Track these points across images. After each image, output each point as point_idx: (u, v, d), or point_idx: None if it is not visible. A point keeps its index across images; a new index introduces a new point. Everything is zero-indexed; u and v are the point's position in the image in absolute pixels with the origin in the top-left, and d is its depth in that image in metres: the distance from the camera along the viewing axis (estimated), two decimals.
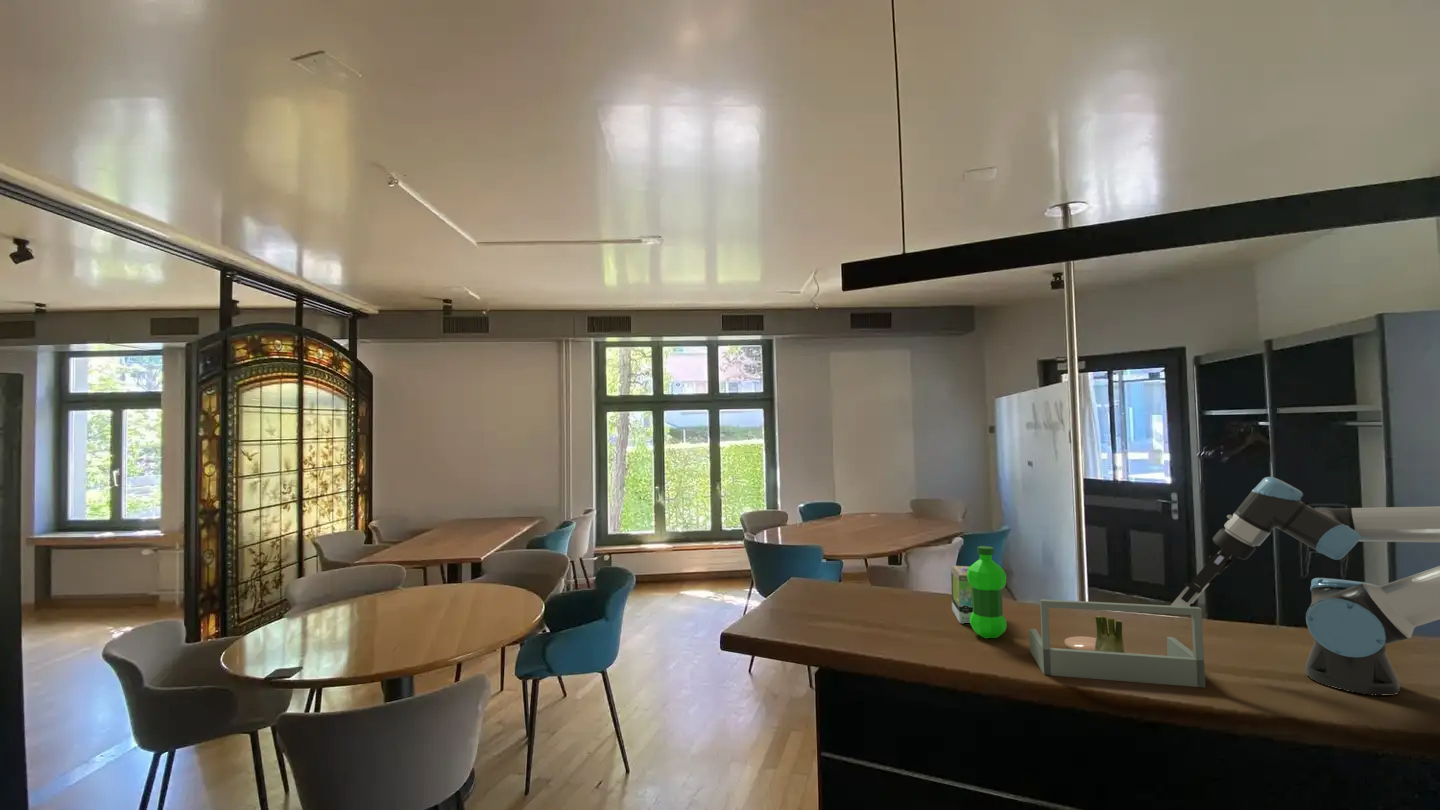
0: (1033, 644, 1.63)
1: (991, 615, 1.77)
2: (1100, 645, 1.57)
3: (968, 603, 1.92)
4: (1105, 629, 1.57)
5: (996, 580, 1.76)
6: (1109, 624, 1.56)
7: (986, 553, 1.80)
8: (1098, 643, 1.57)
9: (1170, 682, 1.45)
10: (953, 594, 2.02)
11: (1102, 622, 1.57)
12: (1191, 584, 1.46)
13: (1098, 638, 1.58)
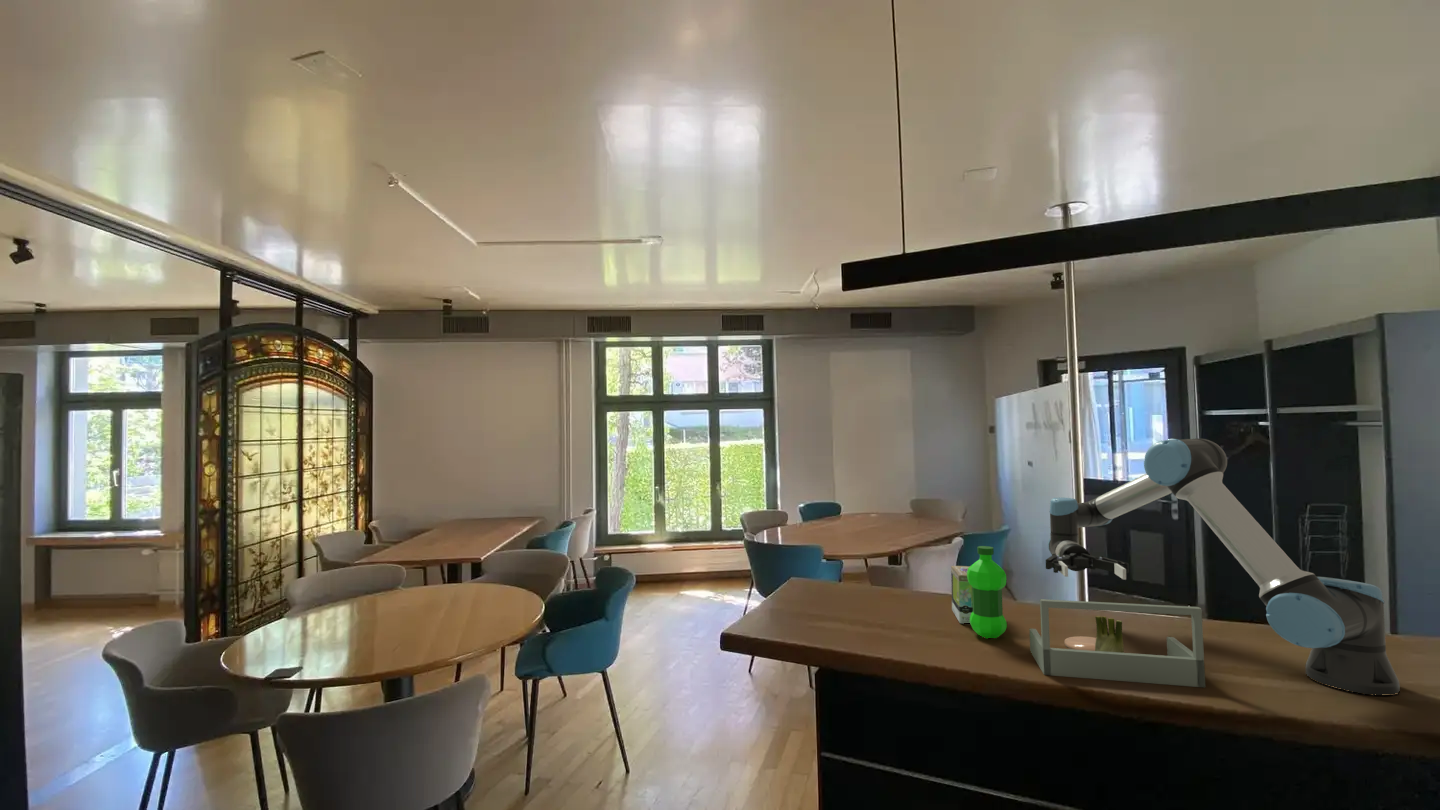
0: (1033, 644, 1.63)
1: (991, 615, 1.77)
2: (1100, 645, 1.57)
3: (968, 603, 1.92)
4: (1105, 629, 1.57)
5: (996, 580, 1.76)
6: (1109, 624, 1.56)
7: (986, 553, 1.80)
8: (1098, 643, 1.57)
9: (1170, 682, 1.45)
10: (953, 594, 2.02)
11: (1102, 622, 1.57)
12: None
13: (1098, 638, 1.58)
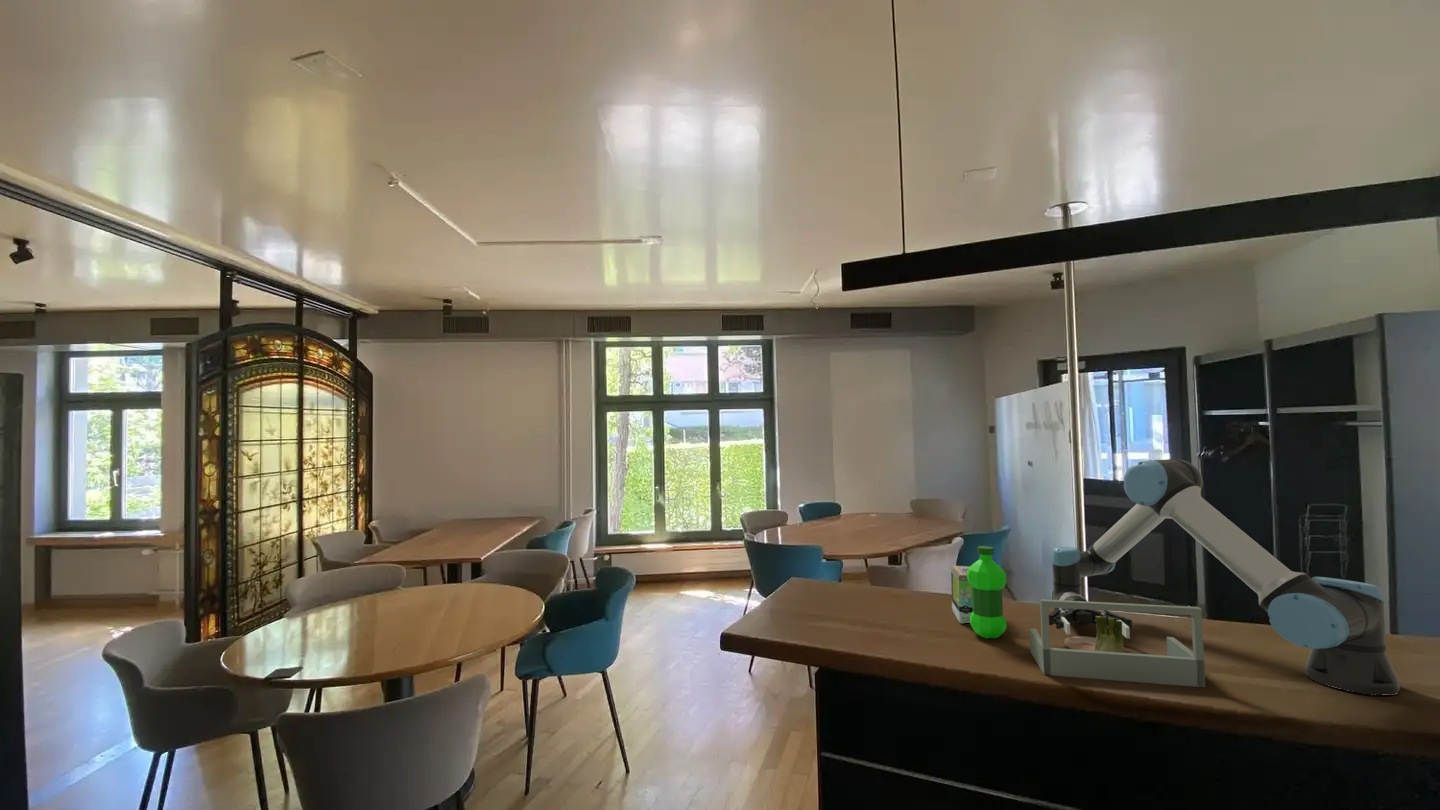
0: (1033, 644, 1.63)
1: (991, 615, 1.77)
2: (1100, 645, 1.57)
3: (968, 603, 1.92)
4: (1105, 629, 1.57)
5: (996, 580, 1.76)
6: (1109, 624, 1.56)
7: (986, 553, 1.80)
8: (1098, 643, 1.57)
9: (1170, 682, 1.45)
10: (953, 594, 2.02)
11: (1102, 622, 1.57)
12: None
13: (1098, 638, 1.58)
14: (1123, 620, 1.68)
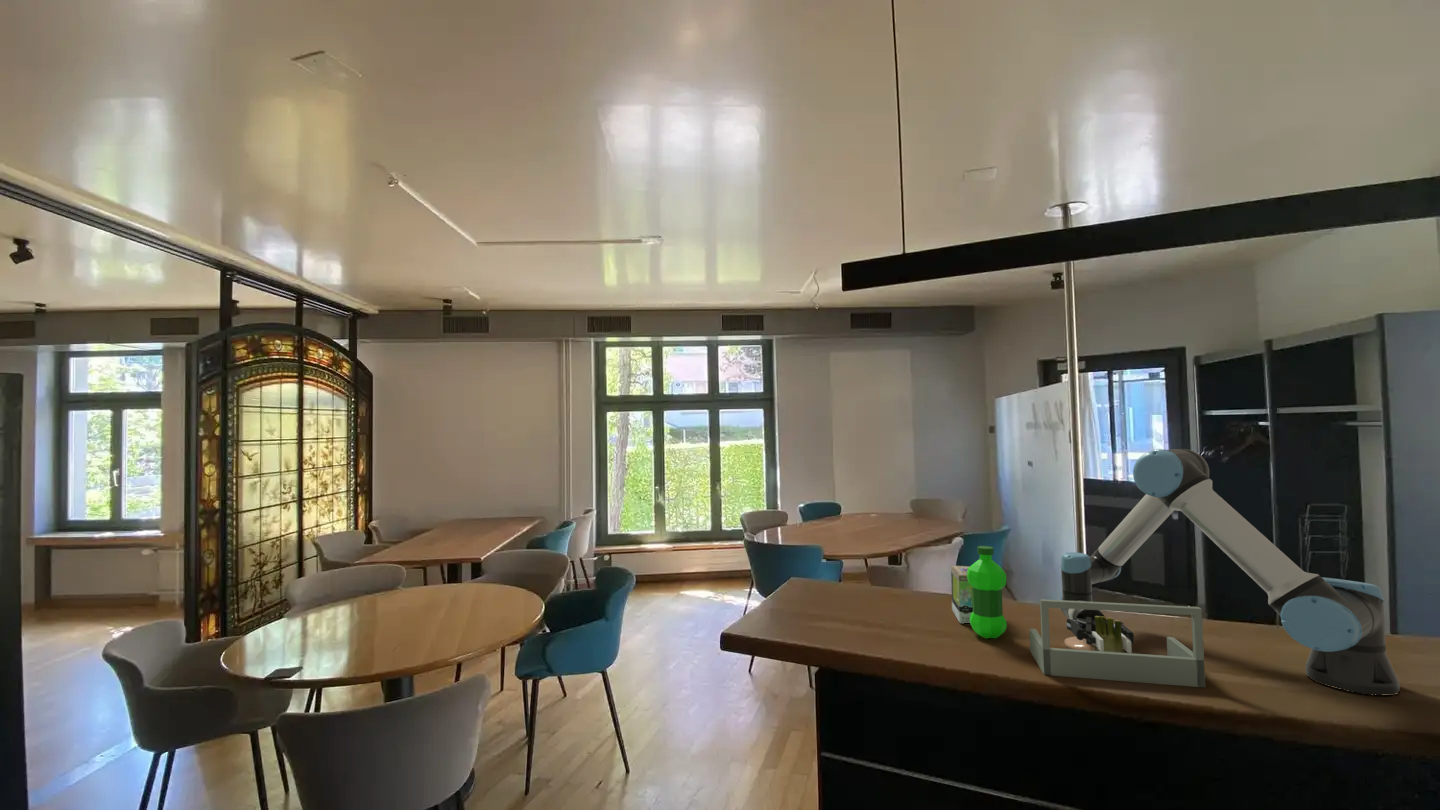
0: (1033, 644, 1.63)
1: (991, 615, 1.77)
2: None
3: (968, 603, 1.92)
4: (1104, 629, 1.57)
5: (996, 580, 1.76)
6: (1108, 624, 1.56)
7: (986, 553, 1.80)
8: None
9: (1170, 682, 1.45)
10: (953, 594, 2.02)
11: (1101, 622, 1.57)
12: (1077, 637, 1.61)
13: None
14: (1123, 633, 1.57)
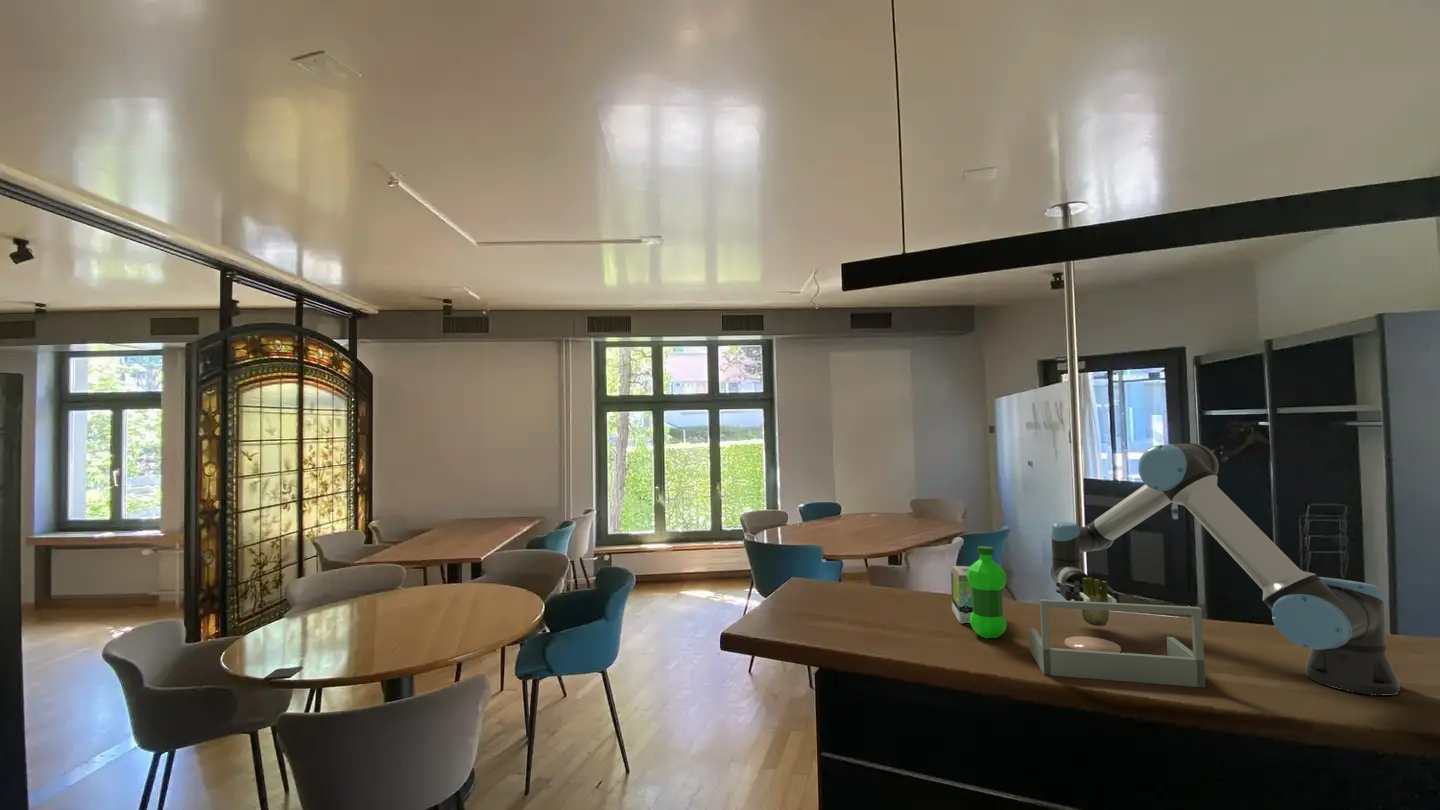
0: (1033, 644, 1.63)
1: (991, 615, 1.77)
2: None
3: (968, 603, 1.92)
4: (1091, 590, 1.65)
5: (996, 580, 1.76)
6: (1095, 585, 1.64)
7: (986, 553, 1.80)
8: None
9: (1170, 682, 1.45)
10: (953, 594, 2.02)
11: (1088, 583, 1.65)
12: (1066, 598, 1.69)
13: None
14: (1109, 593, 1.65)
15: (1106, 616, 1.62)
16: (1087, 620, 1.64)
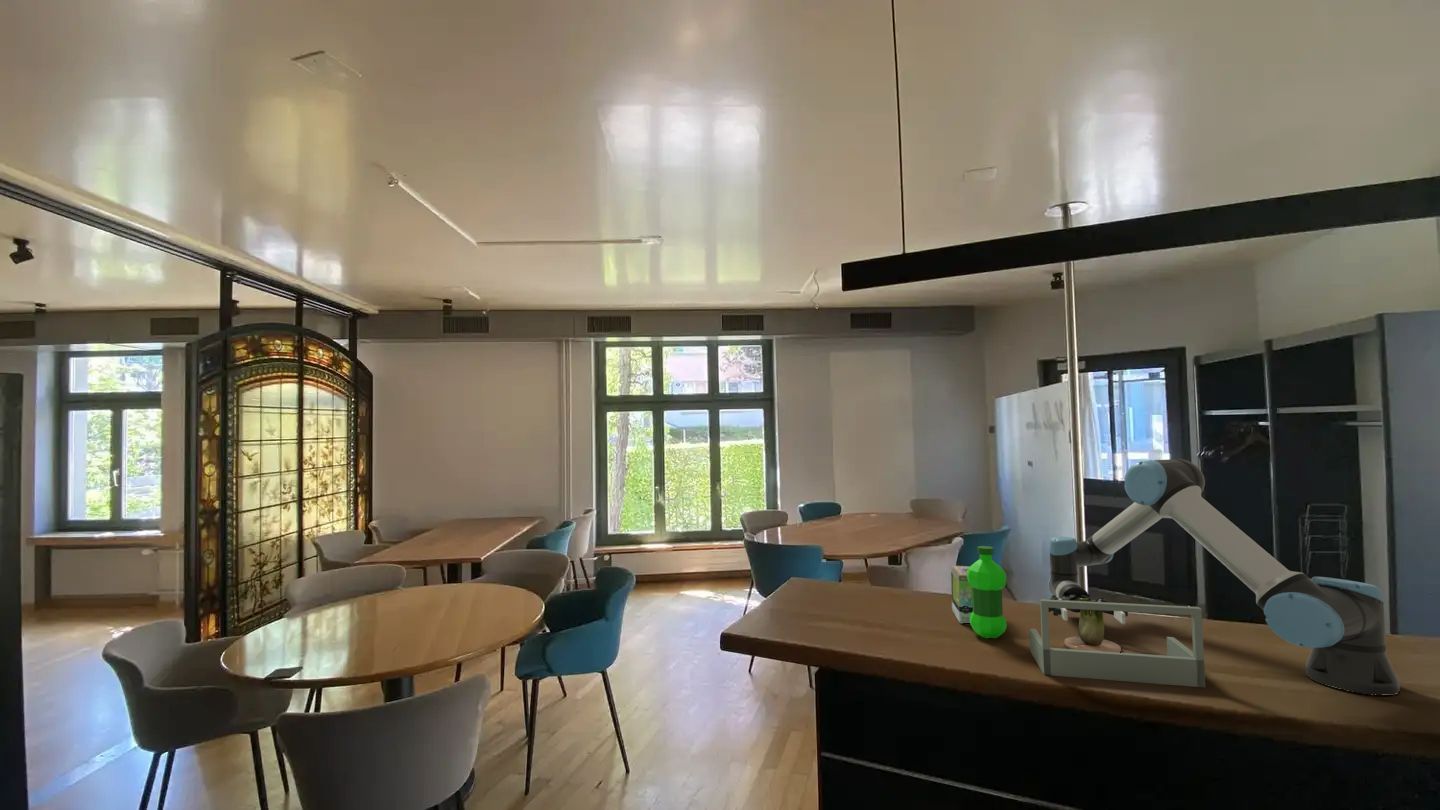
0: (1033, 644, 1.63)
1: (991, 615, 1.77)
2: (1083, 625, 1.71)
3: (968, 603, 1.92)
4: (1088, 610, 1.70)
5: (996, 580, 1.76)
6: None
7: (986, 553, 1.80)
8: (1081, 623, 1.71)
9: (1170, 682, 1.45)
10: (953, 594, 2.02)
11: None
12: None
13: (1081, 618, 1.71)
14: None
15: (1101, 636, 1.67)
16: (1083, 639, 1.70)
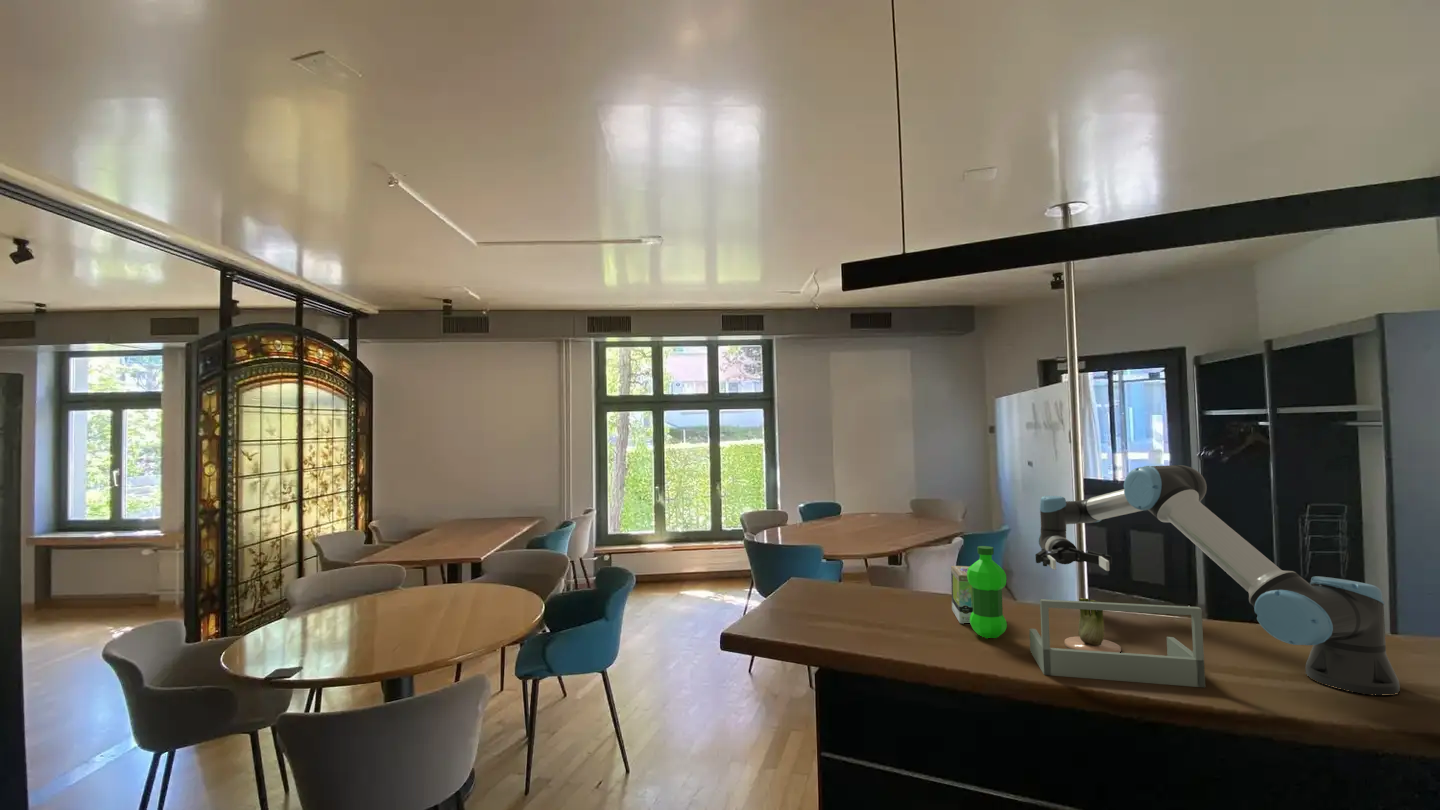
0: (1033, 644, 1.63)
1: (991, 615, 1.77)
2: (1083, 625, 1.71)
3: (968, 603, 1.92)
4: (1088, 610, 1.70)
5: (996, 580, 1.76)
6: None
7: (986, 553, 1.80)
8: (1081, 623, 1.71)
9: (1170, 682, 1.45)
10: (953, 594, 2.02)
11: None
12: None
13: (1081, 618, 1.71)
14: (1103, 556, 1.84)
15: (1101, 636, 1.67)
16: (1083, 639, 1.70)
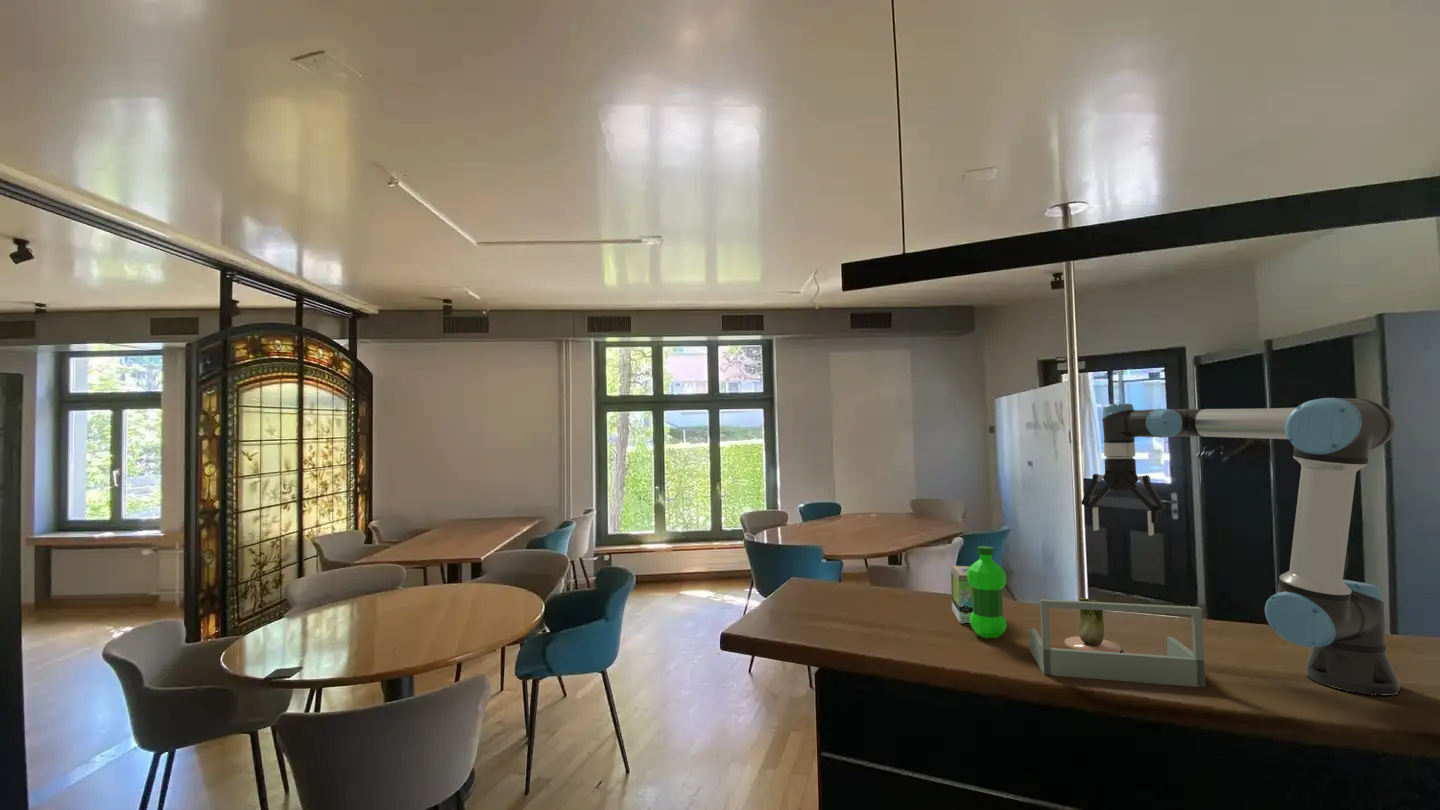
0: (1033, 644, 1.63)
1: (991, 615, 1.77)
2: (1083, 625, 1.71)
3: (968, 603, 1.92)
4: (1088, 610, 1.70)
5: (996, 580, 1.76)
6: None
7: (986, 553, 1.80)
8: (1081, 623, 1.71)
9: (1170, 682, 1.45)
10: (953, 594, 2.02)
11: None
12: None
13: (1081, 618, 1.71)
14: (1153, 511, 1.74)
15: (1101, 636, 1.67)
16: (1083, 639, 1.70)
